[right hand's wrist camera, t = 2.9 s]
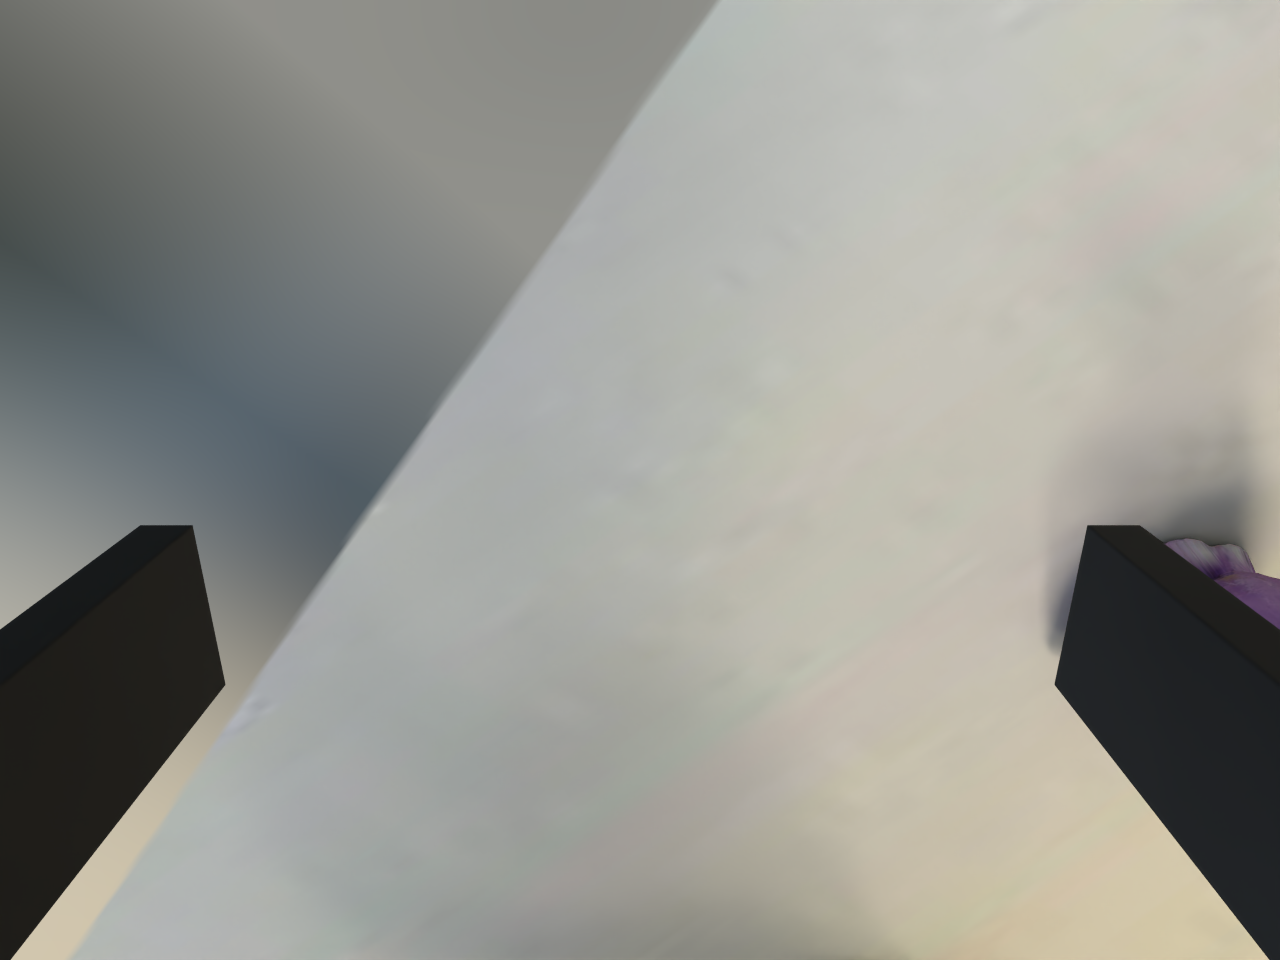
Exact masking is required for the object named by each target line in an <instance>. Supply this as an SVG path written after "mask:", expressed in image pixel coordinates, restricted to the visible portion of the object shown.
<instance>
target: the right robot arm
mask: <svg viewBox="0 0 1280 960" xmlns="http://www.w3.org/2000/svg"><path fill="white" fill-rule="evenodd" d="M224 686H225V680H224V675H223V671H222V666H221V661H220V656H219V651H218V646H217V642H216V637H215V632H214V627H213V622H212V617H211V612H210V608H209V603H208V598H207V593H206V588H205V584H204V579H203V574H202V569H201V564H200V559H199V554H198V550H197V545H196V540H195V535H194V530H193V526H192V525H140V526H139V527H138V528H136V529H135V530H133V531H132V532H131V533H129V534H128V535H127V536H125V537H124V538H123V539H121V540H120V541H119V542H117V543H116V544H115V545H113V546H112V547H111V548H109V549H108V550H107V551H105V552H104V553H103V554H101V555H100V556H98V557H97V558H96V559H95V560H93V561H92V562H90V563H89V564H88V565H86V566H85V567H84V568H82V569H81V570H80V571H78V572H77V573H76V574H74V575H73V576H72V577H70V578H69V579H68V580H66V581H65V582H63V583H62V584H61V585H59V586H58V587H57V588H55V589H54V590H53V591H51V592H50V593H49V594H47V595H46V596H45V597H43V598H42V599H41V600H39V601H38V602H37V603H35V604H34V605H33V606H31V607H30V608H29V609H27V610H26V611H24V612H23V613H22V614H20V615H19V616H18V617H16V618H15V619H14V620H12V621H11V622H10V623H8V624H7V625H6V626H4V627H3V628H2V629H0V960H11V959H12V957H13V956H14V955H15V953H16V952H17V951H18V950H19V948H20V947H21V946H22V944H23V943H24V942H25V941H26V939H27V938H28V937H29V935H30V934H31V933H32V932H33V930H34V929H35V928H36V927H37V925H38V924H39V923H40V921H41V920H42V919H43V918H44V916H45V915H46V914H47V912H48V911H49V910H50V909H51V907H52V906H53V905H54V903H55V902H56V901H57V900H58V898H59V897H60V896H61V895H62V893H63V892H64V891H65V889H66V888H67V887H68V886H69V884H70V883H71V882H72V880H73V879H74V878H75V877H76V875H77V874H78V873H79V871H80V870H81V869H82V868H83V866H84V865H85V864H86V862H87V861H88V860H89V859H90V857H91V856H92V855H93V853H94V852H95V851H96V850H97V848H98V847H99V846H100V844H101V843H102V842H103V841H104V839H105V838H106V837H107V836H108V834H109V833H110V832H111V831H112V829H113V828H114V827H115V825H116V824H117V823H118V822H119V820H120V819H121V818H122V816H123V815H124V814H125V813H126V811H127V810H128V809H129V807H130V806H131V805H132V804H133V802H134V801H135V800H136V799H137V797H138V796H139V795H140V793H141V792H142V791H143V790H144V788H145V787H146V786H147V784H148V783H149V782H150V781H151V779H152V778H153V777H154V775H155V774H156V773H157V772H158V770H159V769H160V768H161V766H162V765H163V764H164V763H165V761H166V760H167V759H168V758H169V756H170V755H171V754H172V752H173V751H174V750H175V749H176V747H177V746H178V745H179V743H180V742H181V741H182V740H183V738H184V737H185V736H186V734H187V733H188V732H189V731H190V729H191V728H192V727H193V725H194V724H195V723H196V722H197V720H198V719H199V718H200V717H201V715H202V714H203V713H204V711H205V710H206V709H207V708H208V706H209V705H210V704H211V702H212V701H213V700H214V699H215V697H216V696H217V695H218V693H219V692H220V691H221V690H222V688H223V687H224ZM1055 686H1056V687H1057V688H1058V690H1059V691H1060V692H1061V694H1062V695H1063V696H1064V697H1065V699H1066V700H1067V701H1068V702H1069V704H1070V705H1071V706H1072V708H1073V709H1074V710H1075V711H1076V713H1077V714H1078V715H1079V717H1080V718H1081V719H1082V720H1083V722H1084V723H1085V724H1086V726H1087V727H1088V728H1089V729H1090V731H1091V732H1092V733H1093V734H1094V736H1095V737H1096V738H1097V740H1098V741H1099V742H1100V743H1101V745H1102V746H1103V747H1104V749H1105V750H1106V751H1107V752H1108V754H1109V755H1110V756H1111V758H1112V759H1113V760H1114V761H1115V763H1116V764H1117V765H1118V766H1119V768H1120V769H1121V770H1122V772H1123V773H1124V774H1125V775H1126V777H1127V778H1128V779H1129V781H1130V782H1131V783H1132V784H1133V786H1134V787H1135V788H1136V790H1137V791H1138V792H1139V793H1140V795H1141V796H1142V797H1143V799H1144V800H1145V801H1146V802H1147V804H1148V805H1149V806H1150V807H1151V809H1152V810H1153V811H1154V813H1155V814H1156V815H1157V816H1158V818H1159V819H1160V820H1161V822H1162V823H1163V824H1164V825H1165V827H1166V828H1167V829H1168V831H1169V832H1170V833H1171V834H1172V836H1173V837H1174V838H1175V839H1176V841H1177V842H1178V843H1179V845H1180V846H1181V847H1182V848H1183V850H1184V851H1185V852H1186V854H1187V855H1188V856H1189V857H1190V859H1191V860H1192V861H1193V863H1194V864H1195V865H1196V866H1197V868H1198V869H1199V870H1200V871H1201V873H1202V874H1203V875H1204V877H1205V878H1206V879H1207V880H1208V882H1209V883H1210V884H1211V886H1212V887H1213V888H1214V889H1215V891H1216V892H1217V893H1218V895H1219V896H1220V897H1221V898H1222V900H1223V901H1224V902H1225V903H1226V905H1227V906H1228V907H1229V909H1230V910H1231V911H1232V912H1233V914H1234V915H1235V916H1236V918H1237V919H1238V920H1239V921H1240V923H1241V924H1242V925H1243V927H1244V928H1245V929H1246V930H1247V932H1248V933H1249V934H1250V935H1251V937H1252V938H1253V939H1254V941H1255V942H1256V943H1257V944H1258V946H1259V947H1260V948H1261V950H1262V951H1263V952H1264V953H1265V955H1266V956H1267V957H1268V959H1269V960H1280V629H1278V628H1277V627H1276V626H1274V625H1273V624H1272V623H1270V622H1269V621H1268V620H1266V619H1265V618H1264V617H1262V616H1261V615H1260V614H1258V613H1257V612H1256V611H1254V610H1253V609H1251V608H1250V607H1249V606H1247V605H1246V604H1245V603H1243V602H1242V601H1241V600H1239V599H1238V598H1237V597H1235V596H1234V595H1233V594H1231V593H1230V592H1229V591H1227V590H1226V589H1225V588H1223V587H1222V586H1221V585H1219V584H1218V583H1217V582H1215V581H1214V580H1212V579H1211V578H1210V577H1208V576H1207V575H1206V574H1204V573H1203V572H1202V571H1200V570H1199V569H1198V568H1196V567H1195V566H1194V565H1192V564H1191V563H1190V562H1188V561H1187V560H1186V559H1184V558H1183V557H1182V556H1180V555H1179V554H1177V553H1176V552H1175V551H1173V550H1172V549H1171V548H1169V547H1168V546H1167V545H1165V544H1164V543H1163V542H1161V541H1160V540H1159V539H1157V538H1156V537H1155V536H1153V535H1152V534H1151V533H1149V532H1148V531H1147V530H1145V529H1144V528H1143V527H1141V526H1140V525H1087V530H1086V535H1085V540H1084V545H1083V550H1082V554H1081V559H1080V564H1079V569H1078V574H1077V579H1076V583H1075V588H1074V593H1073V598H1072V603H1071V608H1070V612H1069V617H1068V622H1067V627H1066V632H1065V637H1064V641H1063V646H1062V651H1061V656H1060V661H1059V666H1058V670H1057V675H1056V680H1055Z"/></svg>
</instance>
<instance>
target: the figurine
mask: <svg viewBox="0 0 1280 960" xmlns="http://www.w3.org/2000/svg"><path fill="white" fill-rule="evenodd" d="M1164 544H1165V545H1167V546H1168V547H1169V548H1171V549H1172V550H1173V551H1175V552H1176V553H1177V554H1179V555H1180V556H1182V557H1183V558H1184V559H1186V560H1187V561H1188V562H1190V563H1191V564H1192V565H1194V566H1195V567H1196V568H1198V569H1199V570H1200V571H1202V572H1203V573H1204V574H1206V575H1207V576H1208V577H1210V578H1211V579H1212V580H1214V581H1215V582H1217V583H1218V584H1219V585H1221V586H1222V587H1223V588H1225V589H1226V590H1227V591H1229V592H1230V593H1231V594H1233V595H1234V596H1235V597H1237V598H1238V599H1239V600H1241V601H1242V602H1243V603H1245V604H1246V605H1247V606H1249V607H1250V608H1251V609H1253V610H1254V611H1256V612H1257V613H1258V614H1260V615H1261V616H1262V617H1264V618H1265V619H1266V620H1268V621H1269V622H1270V623H1272V624H1273V625H1274V626H1276V627H1277V628H1278V629H1280V579H1277V578H1272V577H1269V576H1265V575H1262V574H1259V573H1255V570H1254V568H1253V566H1252V563H1251V561H1250V559H1249V557H1248V554H1247V553H1246V552H1245V551H1244V550H1243V548H1241V547H1239V546H1237V545H1233V544H1226V545H1216V546H1208V545H1207V544H1205V543H1204V542H1202V541H1200V540H1196V539H1188V538H1185V539H1182V540H1173V541H1169V542H1167V543H1164Z"/></svg>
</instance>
